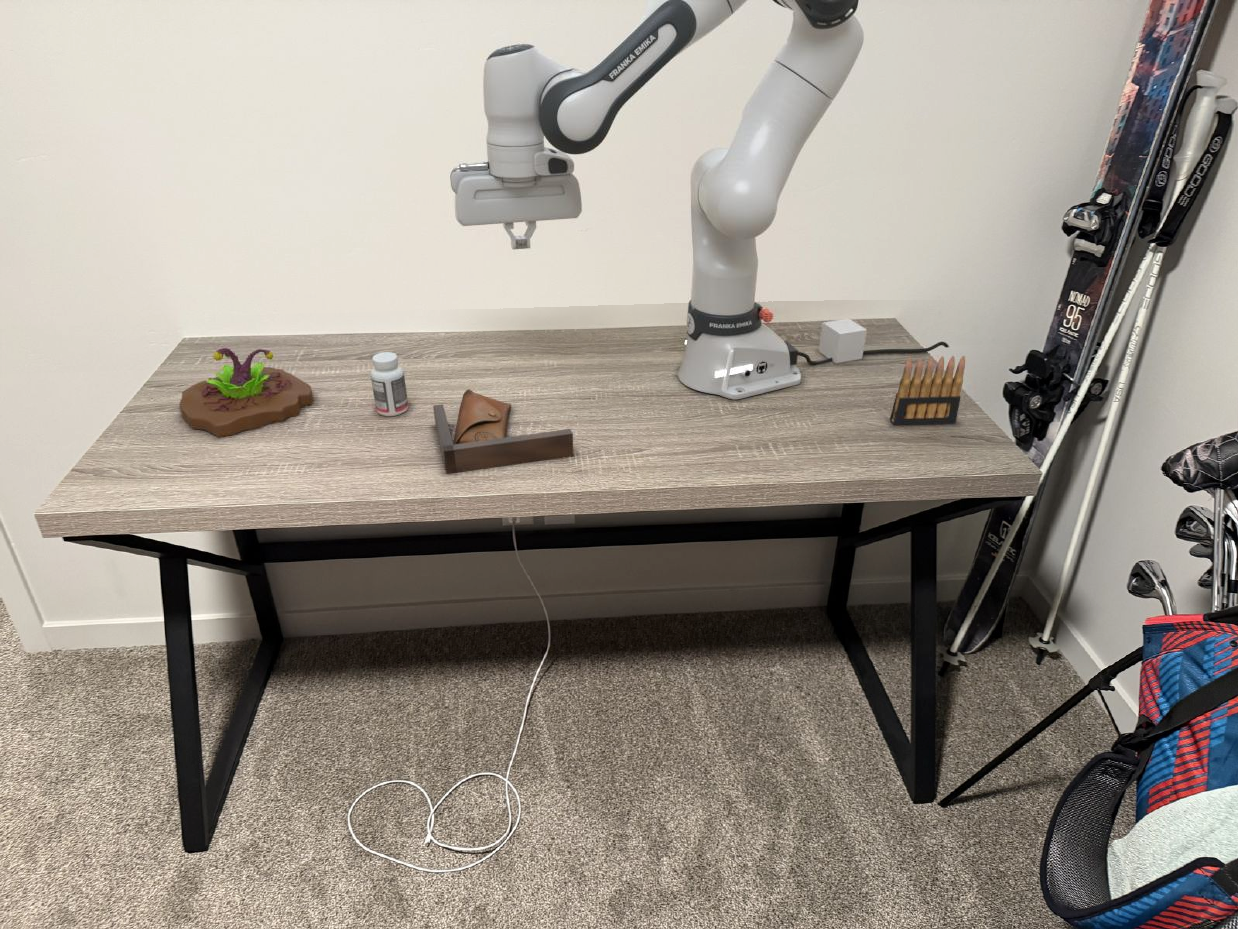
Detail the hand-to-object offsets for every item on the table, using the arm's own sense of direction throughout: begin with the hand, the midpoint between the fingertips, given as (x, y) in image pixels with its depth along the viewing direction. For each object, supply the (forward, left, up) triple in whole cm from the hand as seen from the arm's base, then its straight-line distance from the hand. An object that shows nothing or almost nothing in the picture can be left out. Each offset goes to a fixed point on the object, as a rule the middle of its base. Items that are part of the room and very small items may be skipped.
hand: (520, 247), depth 140 cm
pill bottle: (+24, +3, -25) cm, 35 cm away
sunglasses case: (+10, +15, -25) cm, 31 cm away
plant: (+48, -5, -25) cm, 54 cm away
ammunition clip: (-61, +31, -25) cm, 73 cm away
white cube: (-61, +3, -25) cm, 66 cm away
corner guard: (+8, +19, -25) cm, 32 cm away
